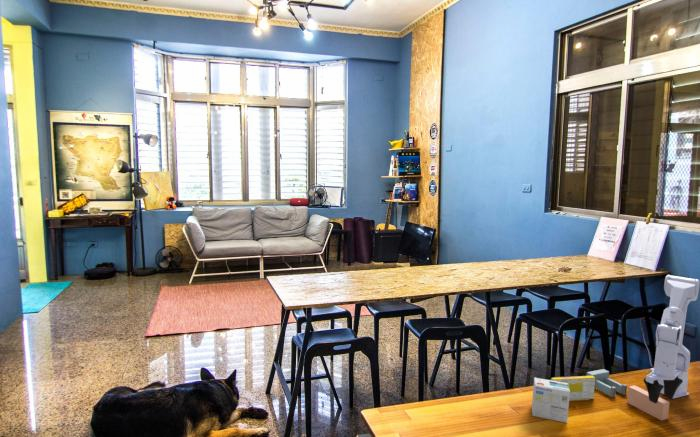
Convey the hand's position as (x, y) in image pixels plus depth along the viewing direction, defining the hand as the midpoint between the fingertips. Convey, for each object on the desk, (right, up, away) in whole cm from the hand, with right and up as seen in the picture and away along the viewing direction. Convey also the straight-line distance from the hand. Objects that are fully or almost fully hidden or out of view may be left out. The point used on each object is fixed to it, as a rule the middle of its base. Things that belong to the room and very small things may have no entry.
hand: (660, 399), depth 149 cm
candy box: (-25, -4, +10) cm, 27 cm away
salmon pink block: (-2, -6, +4) cm, 7 cm away
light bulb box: (-38, -5, -1) cm, 38 cm away
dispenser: (-8, -3, +18) cm, 20 cm away
